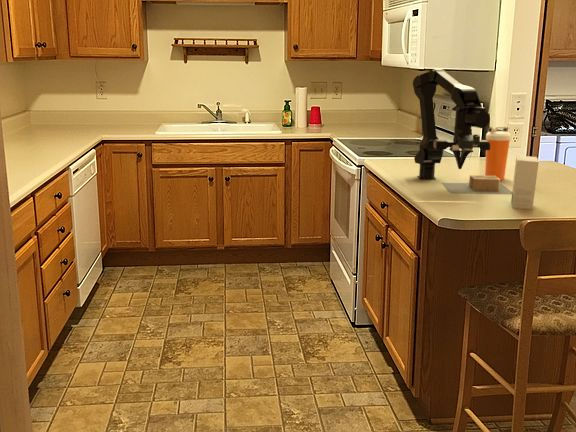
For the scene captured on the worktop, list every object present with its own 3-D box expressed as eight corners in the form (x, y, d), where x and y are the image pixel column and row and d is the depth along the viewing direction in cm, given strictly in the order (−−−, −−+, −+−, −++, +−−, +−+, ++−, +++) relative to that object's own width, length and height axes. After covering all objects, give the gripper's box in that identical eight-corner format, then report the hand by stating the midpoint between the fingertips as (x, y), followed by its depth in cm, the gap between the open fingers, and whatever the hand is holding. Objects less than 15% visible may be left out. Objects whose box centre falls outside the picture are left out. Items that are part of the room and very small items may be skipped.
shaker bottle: (510, 181, 244) (515, 128, 239) (488, 182, 243) (493, 129, 238) (499, 177, 253) (504, 125, 248) (478, 177, 251) (482, 126, 246)
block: (469, 175, 232) (495, 175, 232) (469, 186, 233) (494, 186, 233) (474, 179, 225) (500, 179, 225) (473, 190, 226) (499, 190, 226)
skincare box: (510, 202, 211) (515, 155, 207) (532, 204, 209) (537, 156, 205) (511, 208, 203) (516, 159, 199) (534, 210, 201) (539, 160, 197)
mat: (441, 183, 239) (441, 182, 239) (501, 184, 238) (501, 183, 238) (450, 194, 222) (450, 193, 222) (515, 195, 221) (515, 194, 220)
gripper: (440, 127, 217) (437, 173, 221) (496, 128, 216) (492, 173, 220) (434, 123, 228) (431, 167, 232) (487, 124, 227) (484, 167, 231)
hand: (459, 168), depth 228 cm, fingers closed
